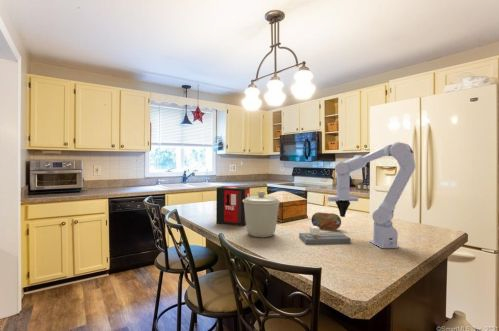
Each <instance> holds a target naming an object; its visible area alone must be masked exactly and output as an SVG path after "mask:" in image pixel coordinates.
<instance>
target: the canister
mask: <svg viewBox="0 0 499 331" xmlns="http://www.w3.org/2000/svg"><path fill="white" fill-rule="evenodd" d="M242 201H243V202H244V210H245V220H246V225H245V226H246V231H247V232H246V233H248V235H249V236H251V237H253V238H269V237H272V236H273V235H274V234H275V233H276V228H277V222H278V213H279V206H280V203H281V200H280V199H278V198H277V197H274V196H270V195H268V196H267V195H266V193H265V191H264V190H259V191H258V192H257V195H253V196H252V195H250V197H247V198H245V199H244V200H242Z"/></svg>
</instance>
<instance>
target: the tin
mask: <svg viewBox="0 0 499 331" xmlns="http://www.w3.org/2000/svg"><path fill="white" fill-rule="evenodd" d="M310 219H311V224H312V226H317V227H319V228H320V229H321V230H329V231H336V230H338V229H339V228H340V227H341V225H342V219H341V216H340V215H338V214H337V213H329V212H315V213H314V214H312V216H311V218H310Z"/></svg>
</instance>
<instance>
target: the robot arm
mask: <svg viewBox="0 0 499 331" xmlns="http://www.w3.org/2000/svg"><path fill="white" fill-rule="evenodd" d="M383 157H393V158H394V160H396V161H397V163H398V165H399V170H398V172H397V174H396V175H395V177H394V180H393V182H392V183H391V186H390V187H389V189H388V191H387V193H386V195H385V197H384V199H383V201H382V202H381V203H380V205H379V207H377V209H376V210H374V211H373V213H372V215H371V217H372V220H373V235H372V236H373V238H372V239H371V240H368V242H369V243H371V244H373V245H375V246H376V245H377V246H376V247H378V246H379V248H380V249H398V247H399V248H400V246H398V237H399V236H398V230H397V229H396V228H394V225H393V221H392V220H393V218H394V214H395V213H394V212H395V209H396V205H397V203H398V202H399V201H400V197H401V196H402V195H403V192H404V191H405V189H406V186H407V185H408V183H409V182H410V181H409V180H410V179H411V177H412V175H413V173H414V171H415V169H416V162H415V154H414V150H413V149H412V147H411V145H409V144H407V143H406V142H400V141H399V142H395V143H392V144H388V145H386V146H383V147H380V148H379V149H377V150H374V151H372V152H370V153H367V154H365V155H360V154H359V155H357V154H355V155H354V156H353V157H351V158H349V159H345V160H344V162H343V161H342V162H341V161H340V162H338V163H337V164H335V166H334V170H335V173H336V196H327V197H326V201H327V202H330V203H331V202H335V205H336V206H337V209H338V211H339V217H340V218H345V217H346V213H347V210H348V209H349V207H350V206H351V202H359V197H358V196H350V186H351V185H350V180H351V179H350V174H351V173H352V172H355V171H357V170H360V169H362V168H365V167H367V166H366V165H367V163H370V162H372V161H376V160H378V159H381V158H383Z"/></svg>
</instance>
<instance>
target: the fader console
mask: <svg viewBox="0 0 499 331" xmlns="http://www.w3.org/2000/svg"><path fill="white" fill-rule="evenodd" d="M298 238H299V239H300V240H301V241H302V242H303V243H304V244H305V245H326V244H327V245H329V244H330V243H331V245H332V244H351V242H352V241H351V237H349V236H347V235H346V234H344V233H343V232H341V231H337V232H336V231H332V232H331V231H330V232H329V231H328V232H327V231H325V232H320V235H312V234H311V233H310V232H299V234H298Z"/></svg>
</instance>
